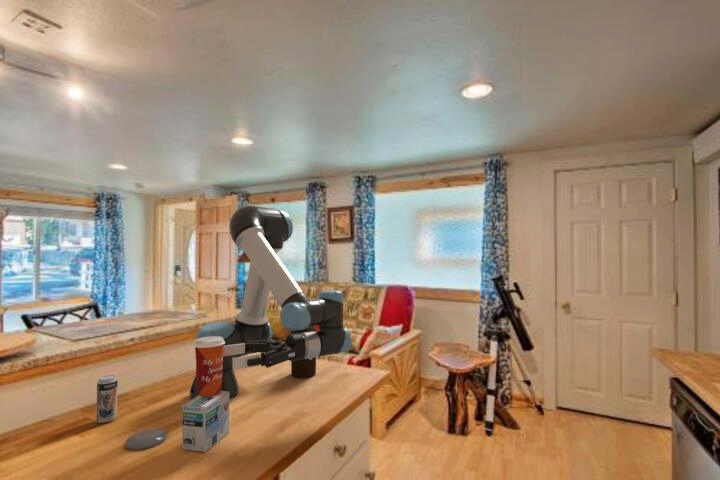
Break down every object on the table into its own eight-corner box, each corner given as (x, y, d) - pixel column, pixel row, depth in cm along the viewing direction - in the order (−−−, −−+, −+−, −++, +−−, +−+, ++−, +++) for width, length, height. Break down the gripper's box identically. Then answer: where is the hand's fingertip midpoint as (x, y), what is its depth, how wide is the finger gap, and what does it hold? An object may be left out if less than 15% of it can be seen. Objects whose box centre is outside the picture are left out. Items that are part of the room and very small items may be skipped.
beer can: (94, 425, 100) (95, 381, 100) (97, 418, 104) (98, 376, 104) (115, 422, 102) (116, 378, 102) (117, 415, 106) (118, 373, 107)
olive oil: (322, 375, 141) (322, 310, 142) (297, 380, 135) (298, 313, 136) (308, 368, 150) (309, 307, 151) (285, 373, 144) (285, 309, 144)
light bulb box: (205, 453, 86) (205, 407, 87) (180, 450, 88) (181, 404, 88) (230, 431, 97) (230, 390, 97) (207, 429, 98) (208, 388, 98)
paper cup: (206, 400, 90) (205, 343, 91) (187, 394, 94) (187, 340, 95) (231, 390, 97) (231, 337, 97) (213, 385, 101) (213, 334, 102)
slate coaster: (116, 449, 88) (116, 445, 88) (142, 431, 97) (142, 427, 97) (150, 451, 87) (150, 448, 87) (174, 433, 96) (174, 429, 96)
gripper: (320, 370, 96) (238, 386, 84) (285, 349, 117) (216, 360, 105) (321, 342, 96) (239, 354, 85) (286, 326, 117) (216, 334, 106)
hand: (226, 357), depth 95 cm, fingers open, 13 cm apart
